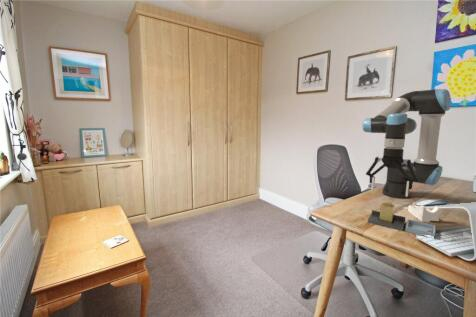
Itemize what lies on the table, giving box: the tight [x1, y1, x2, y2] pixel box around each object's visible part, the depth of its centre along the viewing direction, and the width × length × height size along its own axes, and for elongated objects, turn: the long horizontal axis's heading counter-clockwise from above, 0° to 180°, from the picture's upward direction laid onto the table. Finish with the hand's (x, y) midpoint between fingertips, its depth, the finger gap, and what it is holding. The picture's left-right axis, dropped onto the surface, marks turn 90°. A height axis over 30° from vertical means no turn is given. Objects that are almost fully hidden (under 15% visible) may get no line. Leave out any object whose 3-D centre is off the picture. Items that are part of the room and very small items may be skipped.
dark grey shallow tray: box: [367, 209, 406, 232], centre depth 112 cm, size 10×14×3 cm
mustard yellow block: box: [379, 202, 396, 224], centre depth 112 cm, size 5×5×10 cm
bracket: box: [407, 204, 441, 223], centre depth 118 cm, size 13×7×8 cm, turn 169°
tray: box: [405, 219, 436, 237], centre depth 104 cm, size 10×10×2 cm
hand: (388, 192), depth 110 cm, fingers open, 13 cm apart
